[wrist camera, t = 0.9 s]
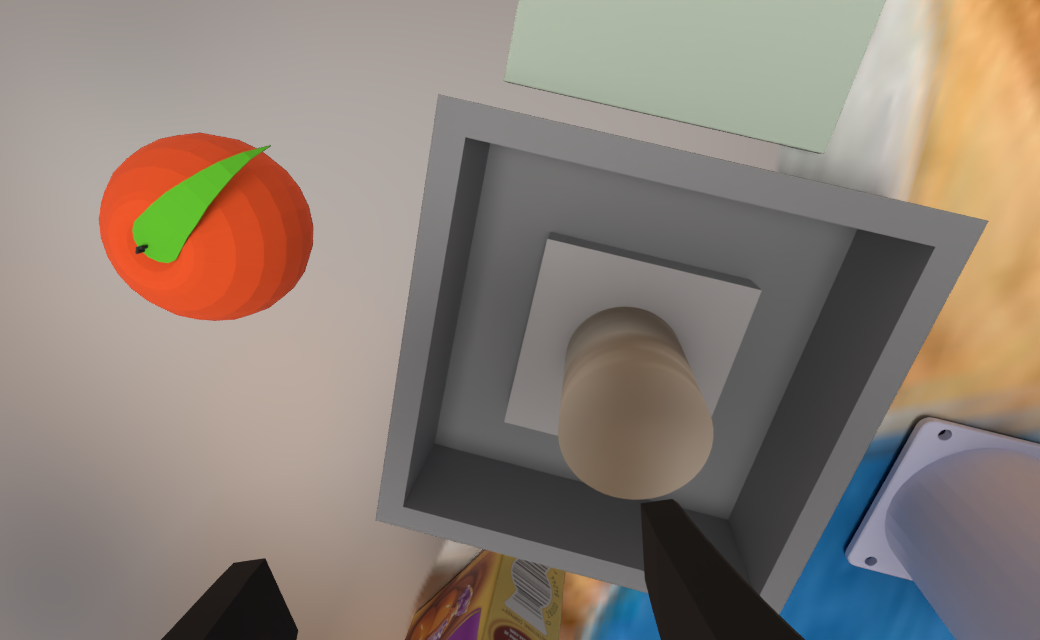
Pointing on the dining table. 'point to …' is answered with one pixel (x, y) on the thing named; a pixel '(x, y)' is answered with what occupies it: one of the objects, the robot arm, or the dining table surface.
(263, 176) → the clementine
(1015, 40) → the dining table surface
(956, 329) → the dining table surface
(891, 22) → the dining table surface
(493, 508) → the box
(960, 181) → the dining table surface
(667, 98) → the mat
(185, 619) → the robot arm
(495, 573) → the candy box
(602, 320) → the cylinder
